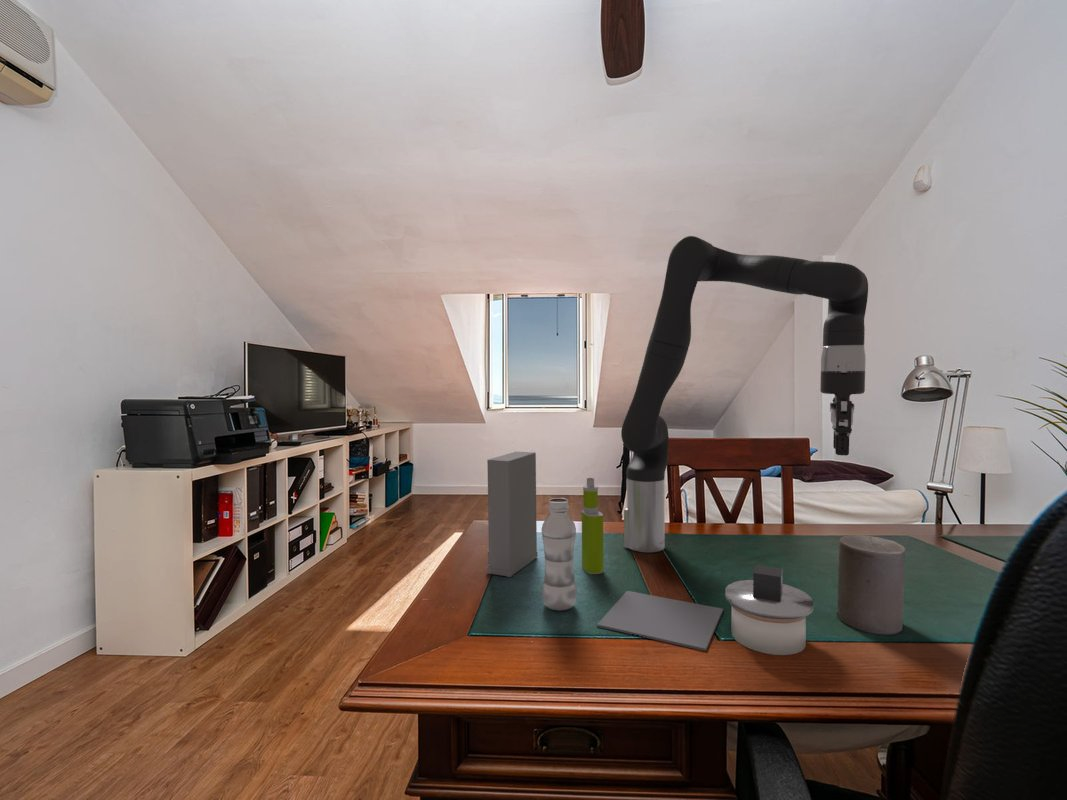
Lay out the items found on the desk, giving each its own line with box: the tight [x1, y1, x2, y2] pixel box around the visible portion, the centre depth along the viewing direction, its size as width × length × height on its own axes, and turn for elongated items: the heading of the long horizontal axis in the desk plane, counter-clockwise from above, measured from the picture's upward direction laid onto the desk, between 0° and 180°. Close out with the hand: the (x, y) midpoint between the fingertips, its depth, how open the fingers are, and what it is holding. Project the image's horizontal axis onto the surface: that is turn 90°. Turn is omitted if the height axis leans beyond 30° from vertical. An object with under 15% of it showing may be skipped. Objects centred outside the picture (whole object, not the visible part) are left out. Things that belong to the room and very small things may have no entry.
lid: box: [724, 564, 814, 619], centre depth 87 cm, size 13×13×5 cm
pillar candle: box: [836, 534, 906, 635], centre depth 92 cm, size 10×10×15 cm
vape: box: [581, 477, 604, 575], centre depth 118 cm, size 4×6×20 cm, turn 14°
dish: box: [730, 605, 807, 656], centre depth 87 cm, size 11×11×6 cm
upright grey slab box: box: [485, 450, 539, 578], centre depth 121 cm, size 14×6×25 cm, turn 155°
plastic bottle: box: [541, 497, 578, 611], centre depth 99 cm, size 6×7×20 cm
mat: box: [596, 590, 724, 652], centre depth 94 cm, size 18×16×1 cm
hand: (840, 452), depth 106 cm, fingers open, 8 cm apart
